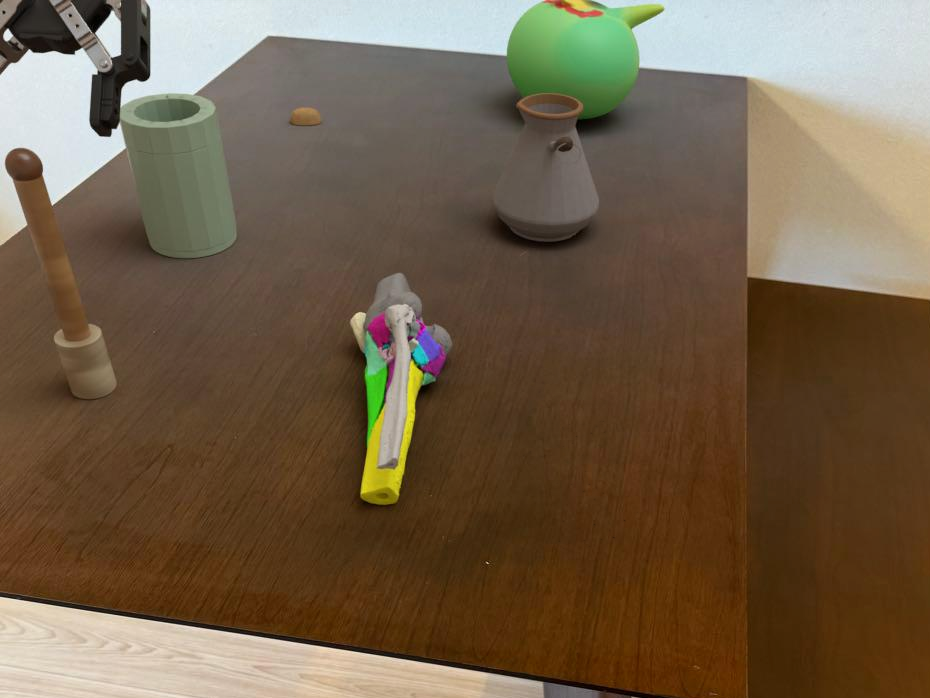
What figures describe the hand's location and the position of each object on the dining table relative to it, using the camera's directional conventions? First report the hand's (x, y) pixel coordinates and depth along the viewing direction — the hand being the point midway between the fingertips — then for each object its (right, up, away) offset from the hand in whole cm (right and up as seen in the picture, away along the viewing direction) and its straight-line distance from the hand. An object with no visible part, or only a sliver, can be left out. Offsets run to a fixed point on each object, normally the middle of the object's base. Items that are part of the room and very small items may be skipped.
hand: (41, 129), depth 70 cm
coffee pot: (+38, +1, +32) cm, 50 cm away
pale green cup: (+1, +2, +30) cm, 30 cm away
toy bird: (+42, +28, +61) cm, 79 cm away
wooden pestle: (-1, -17, +11) cm, 20 cm away
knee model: (+24, -19, +10) cm, 32 cm away
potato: (+7, +24, +55) cm, 60 cm away
